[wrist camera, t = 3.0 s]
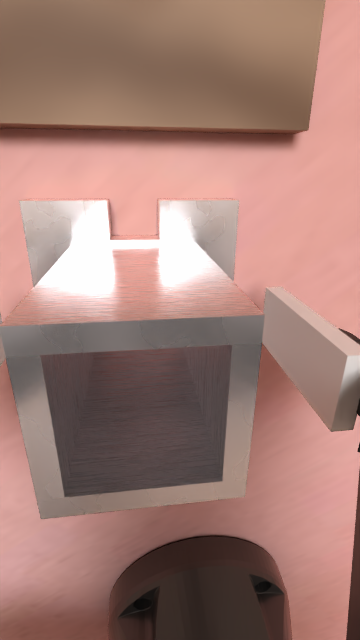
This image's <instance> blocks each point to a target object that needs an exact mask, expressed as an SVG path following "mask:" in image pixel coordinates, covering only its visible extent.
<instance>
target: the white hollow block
mask: <svg viewBox="0 0 360 640" xmlns="http://www.w3.org/2000/svg"><path fill="white" fill-rule="evenodd" d="M19 203H20V209H21V215H22V221H23V227H24V233H25V239H26V245H27V251H28V257H29V263H30V269H31V275H32V281H33V287H34V288H33V289H32V290H31V291H30V292H29V293H28V294H27V296H26V297H25V298H24V299H23V300H22V301H21V302H20V303H19V305H18V306H17V307H16V308H15V309H14V310H13V311H12V312H11V313H10V315H9V316H8V317H7V318H6V319H5V320H4V321H3V322H2V324H1V325H0V334H1V338H2V343H3V348H4V352H5V357H6V361H7V366H8V371H9V375H10V380H11V384H12V389H13V394H14V398H15V403H16V407H17V412H18V416H19V421H20V426H21V430H22V435H23V439H24V444H25V449H26V453H27V458H28V462H29V467H30V472H31V476H32V481H33V485H34V490H35V495H36V499H37V504H38V508H39V513H40V518H41V519H47V518H57V517H66V516H75V515H84V514H93V513H103V512H112V511H121V510H130V509H139V508H149V507H158V506H167V505H176V504H185V503H195V502H204V501H213V500H222V499H231V498H241V497H245V493H246V484H247V475H248V466H249V457H250V448H251V438H252V429H253V420H254V411H255V402H256V393H257V384H258V375H259V366H260V357H261V347H262V338H263V329H264V320H265V314H264V313H263V312H262V311H261V310H260V309H259V308H258V307H257V306H256V305H255V304H254V303H253V302H252V301H251V300H250V299H249V298H248V296H247V295H246V294H245V293H244V292H243V291H242V290H241V289H240V288H239V287H238V286H237V285H236V284H235V283H234V267H235V253H236V238H237V224H238V209H239V200H235V199H157V209H158V235H126V236H111V222H110V208H109V199H26V200H21V201H19Z"/></svg>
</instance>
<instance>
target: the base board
mask: <svg viewBox="0 0 360 640" xmlns="http://www.w3.org/2000/svg"><path fill="white" fill-rule="evenodd" d="M324 7H325V0H0V128H46V129H91V130H136V131H181V132H227V133H272V134H296V133H300V132H303V131H307V130H308V128H309V121H310V113H311V105H312V98H313V90H314V83H315V75H316V68H317V60H318V53H319V45H320V37H321V30H322V22H323V15H324Z"/></svg>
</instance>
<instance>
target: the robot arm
mask: <svg viewBox="0 0 360 640" xmlns="http://www.w3.org/2000/svg"><path fill="white" fill-rule="evenodd" d="M263 313H264V314H265V320H264V329H263V338H262V343H263V345H264V346H265V347H266V348H267V350H268V351H269V352H270V354H271V355H272V356H273V358H274V359H275V360H276V361H277V363H278V364H279V365H280V367H281V368H282V369H283V370H284V372H285V373H286V374H287V376H288V377H289V378H290V380H291V381H292V382H293V383H294V385H295V386H296V387H297V389H298V390H299V391H300V392H301V394H302V395H303V396H304V398H305V399H306V400H307V402H308V403H309V404H310V405H311V407H312V408H313V409H314V411H315V412H316V413H317V414H318V416H319V417H320V418H321V420H322V421H323V422H324V423H325V425H326V426H327V427H328V429H329V430H330V431H331V432H333V431H344V430H353V428H354V424H355V420H356V416H357V414H358V415H359V416H360V339H359V338H357V337H356V336H354V335H353V334H351V333H349V332H347V331H344V330H342V329H340V328H336V327H335V326H334V325H332V324H331V323H330V322H328V321H327V320H325V319H324V318H323V317H321V316H320V315H319V314H317V313H316V312H315V311H313V310H312V309H311V308H309V307H308V306H307V305H305V304H304V303H303V302H301V301H300V300H299V299H297V298H296V297H295V296H293V295H292V294H291V293H289V292H288V291H287V290H285V289H284V288H283V287H266V292H265V301H264V311H263ZM1 324H2V319H1V314H0V325H1ZM5 359H6V357H5V352H4V348H3V343H2V338H1V334H0V366H1V364H2V363H3V361H4V360H5ZM357 452H360V444H359V448H358V451H357ZM108 636H109V640H292V632H291V622H290V611H289V601H288V596H287V592H286V589H285V586H284V583H283V581H282V578H281V575H280V573H279V570H278V567H277V565H276V563H275V561H274V559H273V558H272V557H271V556H270V555H269V554H268V553H267V552H266V551H265V550H263V549H262V548H260V547H259V546H257V545H255V544H253V543H250V542H247V541H244V540H240V539H236V538H229V537H200V538H193V539H188V540H183V541H179V542H176V543H172V544H169V545H167V546H164V547H162V548H159V549H157V550H155V551H153V552H151V553H149V554H147V555H145V556H144V557H142V558H141V559H139V560H138V561H136V562H135V563H134V564H132V565H131V566H130V567H129V568H128V569H127V570H126V571H125V572H124V573H123V574H122V575H121V576H120V578H119V579H118V580H117V582H116V584H115V585H114V587H113V590H112V592H111V595H110V602H109V621H108ZM346 640H360V471H359V484H358V497H357V509H356V522H355V535H354V548H353V560H352V573H351V586H350V599H349V611H348V624H347V637H346Z"/></svg>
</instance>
